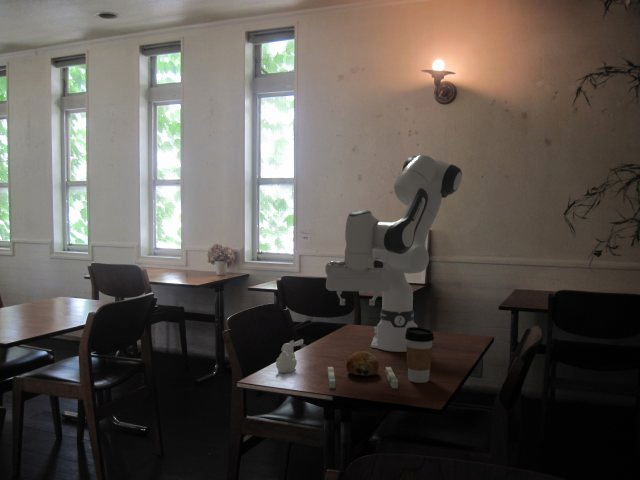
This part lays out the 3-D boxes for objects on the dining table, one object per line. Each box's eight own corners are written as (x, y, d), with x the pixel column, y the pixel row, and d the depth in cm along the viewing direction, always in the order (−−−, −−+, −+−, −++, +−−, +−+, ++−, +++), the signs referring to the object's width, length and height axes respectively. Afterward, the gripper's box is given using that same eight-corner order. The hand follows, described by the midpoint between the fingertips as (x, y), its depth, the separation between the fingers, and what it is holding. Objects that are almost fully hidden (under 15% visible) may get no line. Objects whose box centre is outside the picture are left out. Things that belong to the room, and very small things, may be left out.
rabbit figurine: (283, 363, 185) (283, 334, 184) (306, 365, 183) (306, 335, 183) (272, 374, 173) (272, 342, 173) (296, 376, 172) (296, 344, 171)
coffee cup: (413, 373, 176) (414, 325, 175) (438, 379, 170) (439, 329, 169) (398, 380, 169) (399, 329, 168) (424, 386, 164) (425, 334, 163)
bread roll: (380, 384, 175) (386, 359, 177) (368, 375, 167) (374, 349, 169) (351, 378, 180) (358, 354, 182) (338, 369, 172) (345, 344, 174)
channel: (327, 373, 175) (327, 366, 175) (390, 373, 175) (390, 367, 175) (329, 388, 161) (329, 381, 161) (397, 388, 161) (398, 381, 161)
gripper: (326, 262, 178) (325, 306, 179) (391, 263, 179) (390, 307, 180) (325, 260, 185) (323, 302, 185) (388, 261, 186) (386, 303, 186)
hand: (357, 305), depth 183 cm, fingers open, 8 cm apart
